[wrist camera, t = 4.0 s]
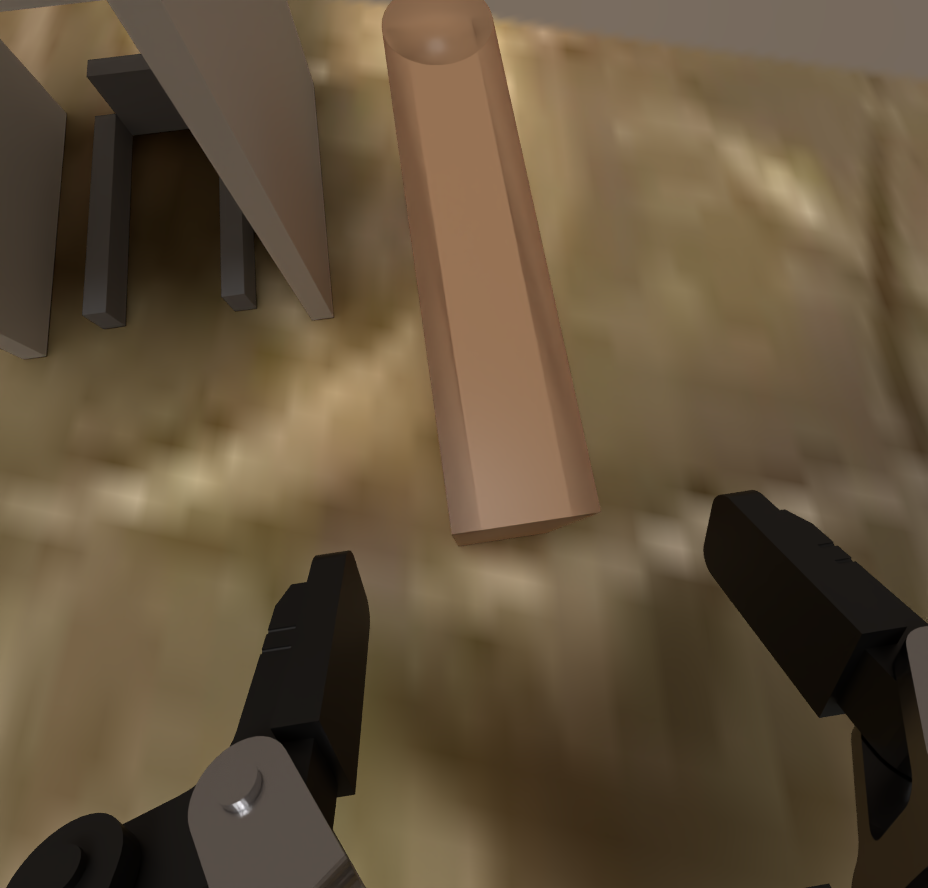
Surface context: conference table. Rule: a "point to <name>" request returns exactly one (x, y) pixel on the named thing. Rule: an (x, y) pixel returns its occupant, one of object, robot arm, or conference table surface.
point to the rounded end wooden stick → (483, 281)
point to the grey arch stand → (159, 110)
